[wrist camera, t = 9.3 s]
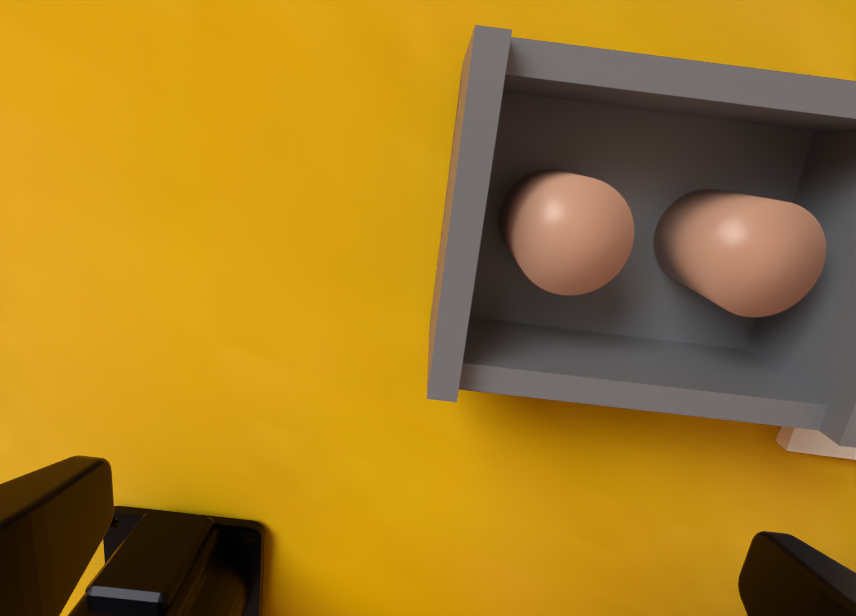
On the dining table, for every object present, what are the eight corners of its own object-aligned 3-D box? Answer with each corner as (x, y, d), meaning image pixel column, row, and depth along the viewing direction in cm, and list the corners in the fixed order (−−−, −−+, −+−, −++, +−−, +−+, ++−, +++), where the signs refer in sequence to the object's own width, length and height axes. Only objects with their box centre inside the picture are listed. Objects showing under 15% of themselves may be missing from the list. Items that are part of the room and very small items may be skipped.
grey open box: (749, 364, 20) (868, 449, 15) (429, 326, 20) (426, 398, 14) (831, 109, 17) (1014, 94, 12) (463, 62, 17) (475, 25, 12)
